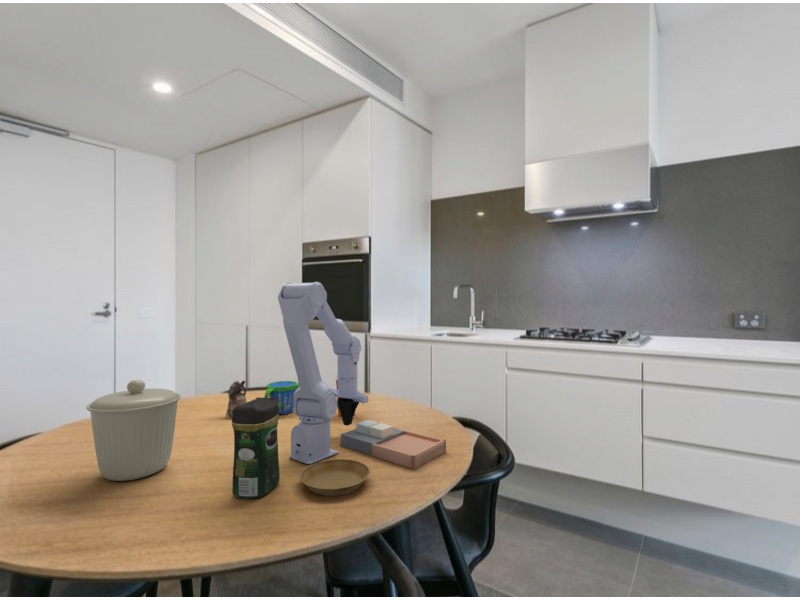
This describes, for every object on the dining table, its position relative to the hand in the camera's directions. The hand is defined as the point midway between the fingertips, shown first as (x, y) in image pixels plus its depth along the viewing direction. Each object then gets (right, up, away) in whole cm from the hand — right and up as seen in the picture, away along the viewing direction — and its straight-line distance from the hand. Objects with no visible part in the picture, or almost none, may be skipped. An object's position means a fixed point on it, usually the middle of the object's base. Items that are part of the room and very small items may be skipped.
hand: (347, 424), depth 116 cm
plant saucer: (+1, -4, -30) cm, 31 cm away
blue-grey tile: (+6, 0, -5) cm, 8 cm away
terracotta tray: (+18, -3, -14) cm, 23 cm away
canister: (-46, -4, -24) cm, 52 cm away
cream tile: (+10, 0, -8) cm, 13 cm away
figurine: (-41, -4, +22) cm, 47 cm away
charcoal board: (+8, -3, -6) cm, 10 cm away
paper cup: (-3, -4, +22) cm, 22 cm away
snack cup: (-27, -4, +26) cm, 37 cm away
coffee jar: (-15, -3, -33) cm, 36 cm away
